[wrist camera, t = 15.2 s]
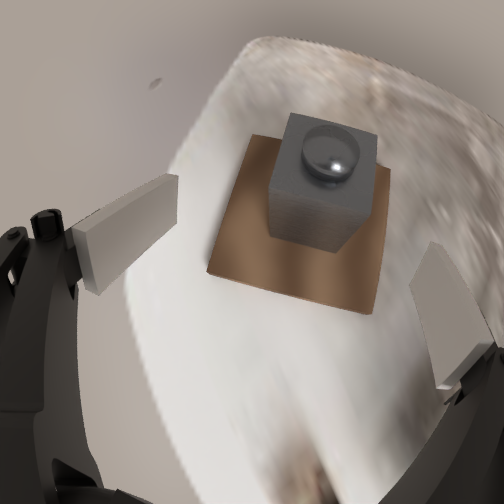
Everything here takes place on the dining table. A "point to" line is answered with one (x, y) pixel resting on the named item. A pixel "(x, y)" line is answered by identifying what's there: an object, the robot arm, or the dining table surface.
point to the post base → (295, 255)
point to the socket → (321, 183)
